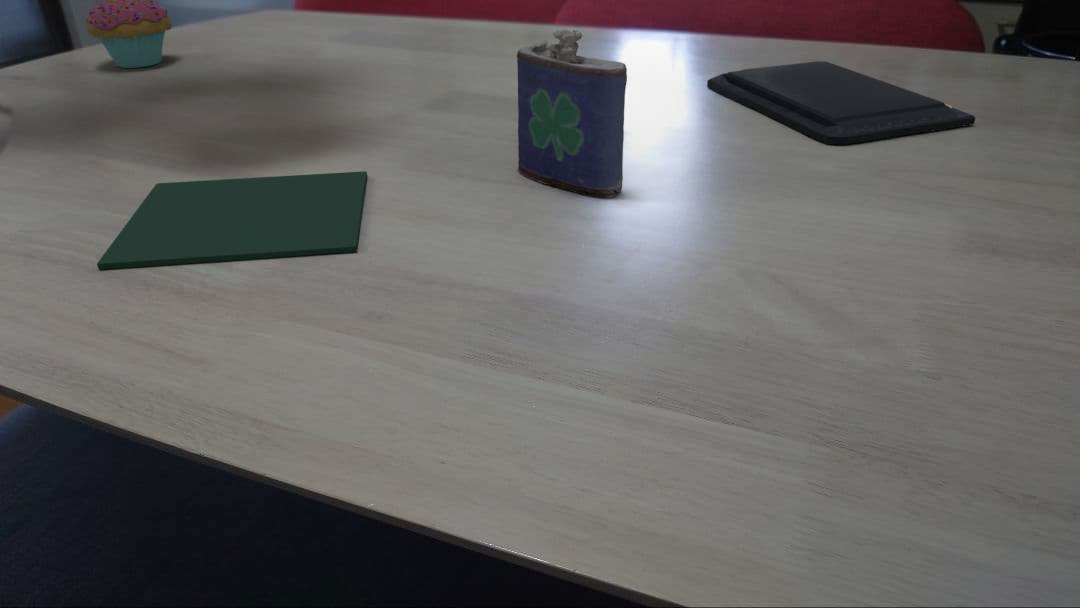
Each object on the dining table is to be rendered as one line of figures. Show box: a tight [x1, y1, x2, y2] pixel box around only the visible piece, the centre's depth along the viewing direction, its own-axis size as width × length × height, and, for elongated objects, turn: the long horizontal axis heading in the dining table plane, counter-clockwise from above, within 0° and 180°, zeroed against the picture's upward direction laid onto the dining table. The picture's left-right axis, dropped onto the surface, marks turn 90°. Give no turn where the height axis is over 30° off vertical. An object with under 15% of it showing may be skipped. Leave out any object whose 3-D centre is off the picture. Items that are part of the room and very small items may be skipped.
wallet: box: [706, 60, 976, 146], centre depth 75 cm, size 20×2×15 cm
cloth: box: [96, 170, 368, 270], centre depth 55 cm, size 15×13×1 cm
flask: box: [516, 29, 628, 199], centre depth 57 cm, size 9×3×11 cm, turn 47°
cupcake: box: [85, 0, 173, 69], centre depth 90 cm, size 9×8×12 cm
